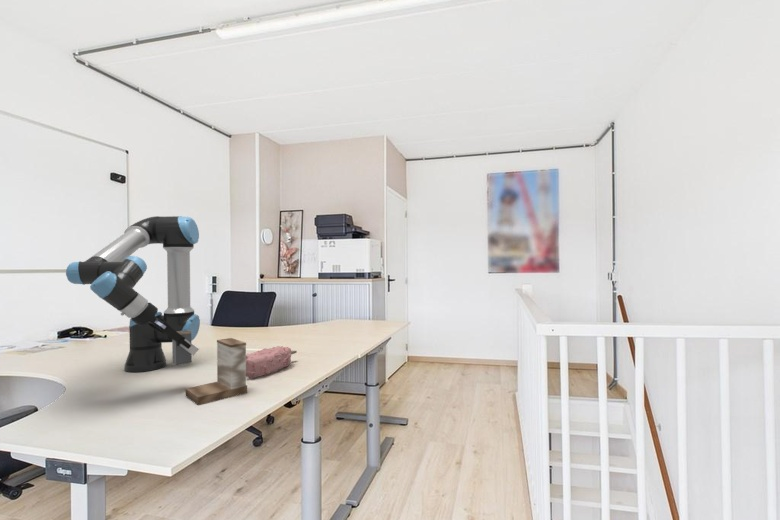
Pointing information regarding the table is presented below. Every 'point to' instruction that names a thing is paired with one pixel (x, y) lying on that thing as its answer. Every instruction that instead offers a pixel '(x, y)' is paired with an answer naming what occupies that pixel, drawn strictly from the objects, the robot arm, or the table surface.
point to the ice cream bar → (267, 361)
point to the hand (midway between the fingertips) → (193, 350)
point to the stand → (224, 374)
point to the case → (181, 350)
